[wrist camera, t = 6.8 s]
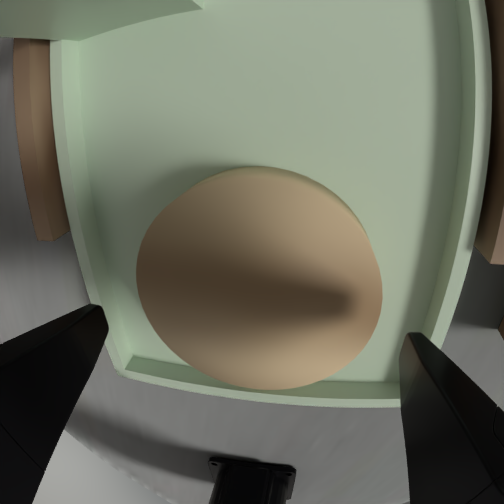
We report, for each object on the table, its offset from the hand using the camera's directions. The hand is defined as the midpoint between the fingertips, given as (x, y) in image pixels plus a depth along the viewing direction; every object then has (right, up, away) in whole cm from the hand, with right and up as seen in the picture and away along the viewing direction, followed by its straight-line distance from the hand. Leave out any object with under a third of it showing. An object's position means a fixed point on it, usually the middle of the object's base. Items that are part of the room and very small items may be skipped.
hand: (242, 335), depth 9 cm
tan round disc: (+1, +1, +3) cm, 3 cm away
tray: (+1, +4, +3) cm, 5 cm away
